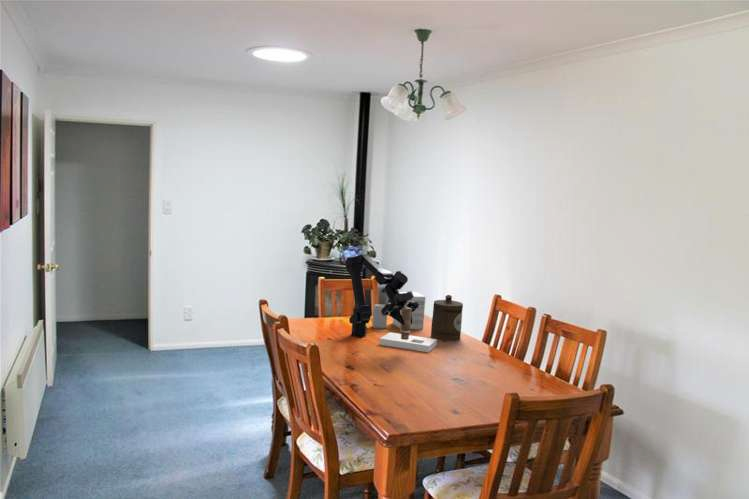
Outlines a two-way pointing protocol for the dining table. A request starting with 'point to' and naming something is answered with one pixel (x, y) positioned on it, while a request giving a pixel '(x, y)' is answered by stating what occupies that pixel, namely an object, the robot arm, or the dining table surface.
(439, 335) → the wooden container
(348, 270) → the robot arm
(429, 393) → the dining table surface
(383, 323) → the can
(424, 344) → the grey board
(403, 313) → the walnut peg
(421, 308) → the supplement box
